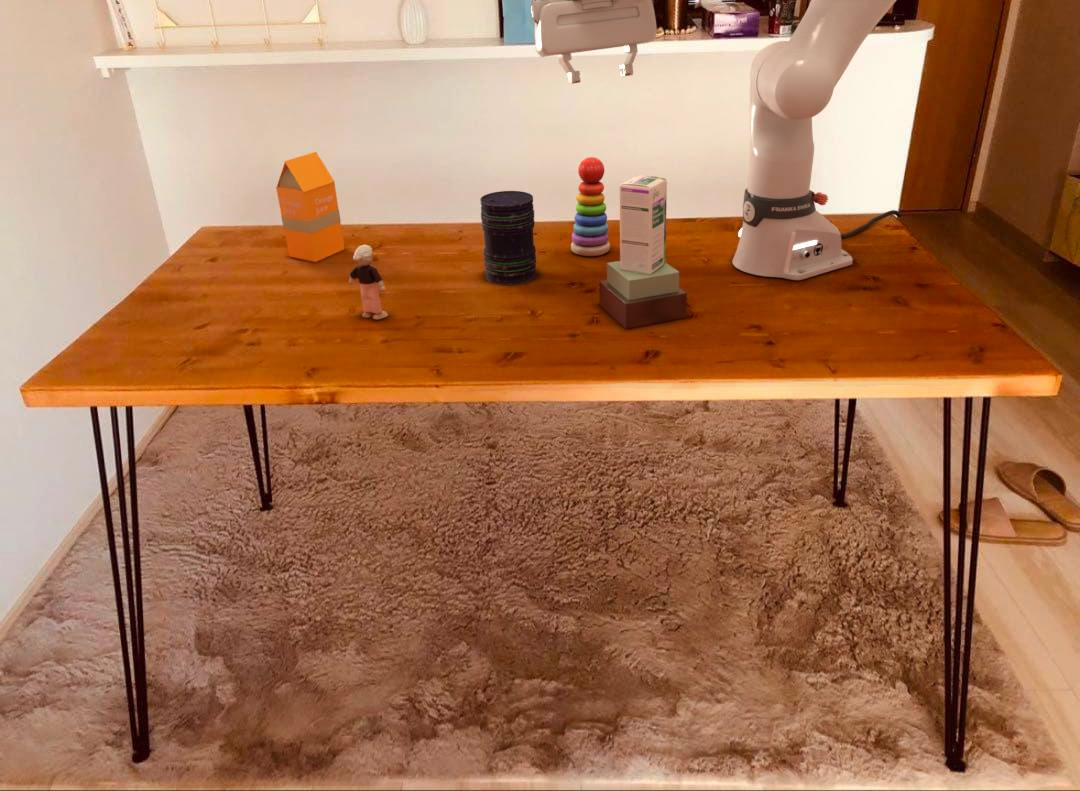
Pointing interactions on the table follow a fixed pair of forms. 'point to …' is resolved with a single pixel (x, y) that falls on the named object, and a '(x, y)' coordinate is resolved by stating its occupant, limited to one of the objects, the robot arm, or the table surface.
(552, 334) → the table surface
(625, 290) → the top block
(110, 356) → the table surface
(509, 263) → the dark blue cylinder
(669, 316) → the base block
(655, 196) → the syrup box
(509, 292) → the table surface
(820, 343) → the table surface
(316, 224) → the orange juice
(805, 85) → the robot arm
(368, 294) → the grandmother figurine
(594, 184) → the stacking toy
